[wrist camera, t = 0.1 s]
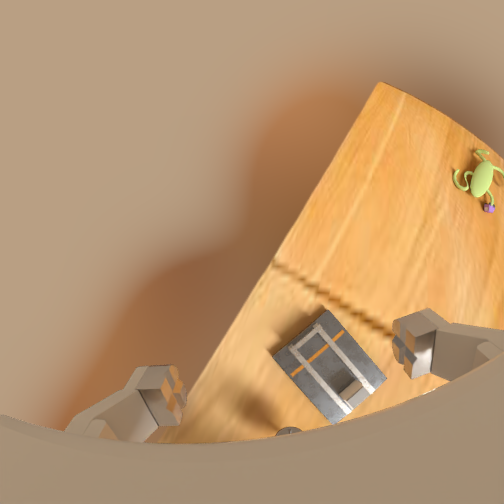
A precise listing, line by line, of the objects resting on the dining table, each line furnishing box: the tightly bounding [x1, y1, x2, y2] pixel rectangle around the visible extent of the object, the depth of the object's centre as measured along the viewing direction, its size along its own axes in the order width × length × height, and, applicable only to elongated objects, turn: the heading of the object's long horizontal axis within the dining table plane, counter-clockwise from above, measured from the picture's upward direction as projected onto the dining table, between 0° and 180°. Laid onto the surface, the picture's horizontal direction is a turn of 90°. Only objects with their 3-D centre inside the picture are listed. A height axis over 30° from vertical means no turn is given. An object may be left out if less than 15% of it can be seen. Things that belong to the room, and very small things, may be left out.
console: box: [272, 310, 387, 424], centre depth 56 cm, size 22×16×5 cm
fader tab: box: [339, 380, 371, 410], centre depth 51 cm, size 3×5×7 cm, turn 129°
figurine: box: [453, 149, 504, 213], centre depth 63 cm, size 18×27×6 cm
